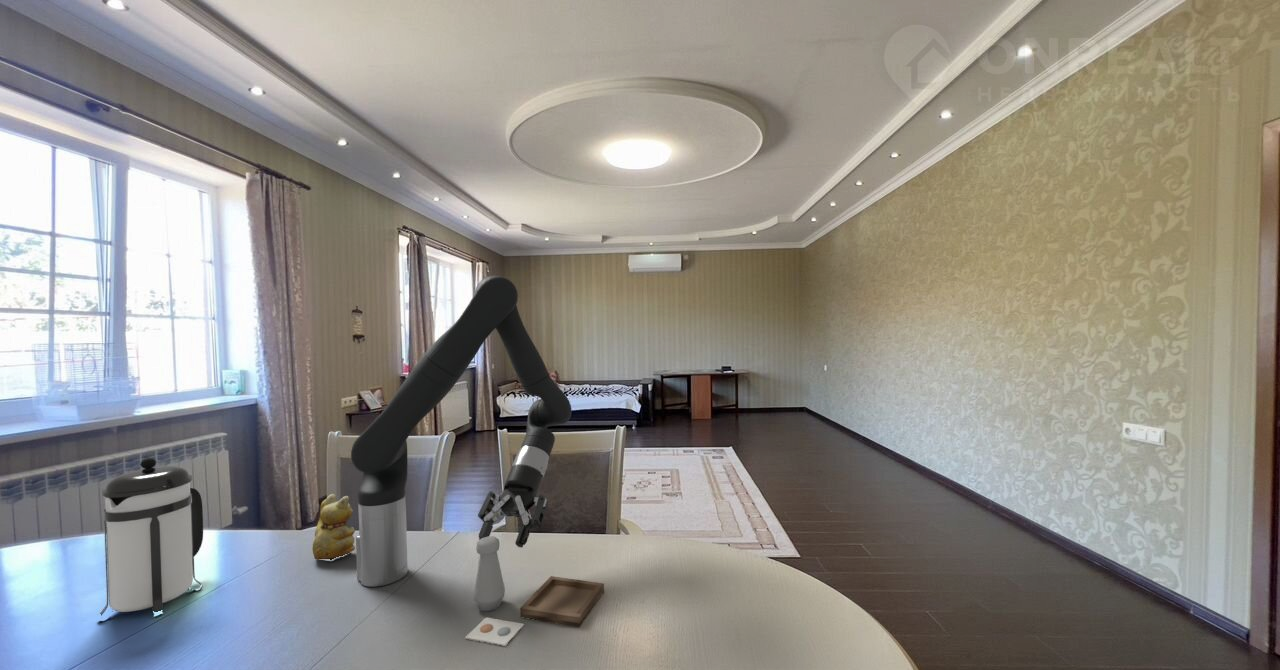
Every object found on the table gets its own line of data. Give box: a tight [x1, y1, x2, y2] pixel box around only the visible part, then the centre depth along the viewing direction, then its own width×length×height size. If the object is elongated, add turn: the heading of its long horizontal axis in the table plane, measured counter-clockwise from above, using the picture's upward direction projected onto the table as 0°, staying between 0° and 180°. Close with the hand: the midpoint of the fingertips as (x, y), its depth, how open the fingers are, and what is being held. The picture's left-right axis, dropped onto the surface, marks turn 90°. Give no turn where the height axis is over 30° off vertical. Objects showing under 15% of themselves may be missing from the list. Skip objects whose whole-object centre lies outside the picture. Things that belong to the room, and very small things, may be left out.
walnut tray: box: [519, 575, 605, 628], centre depth 93 cm, size 12×12×2 cm
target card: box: [464, 617, 525, 647], centre depth 85 cm, size 8×6×1 cm
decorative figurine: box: [312, 493, 356, 561], centre depth 116 cm, size 10×8×15 cm
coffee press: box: [99, 457, 204, 616], centre depth 99 cm, size 17×16×30 cm
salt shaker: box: [473, 535, 506, 612], centre depth 93 cm, size 6×6×13 cm
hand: (500, 543), depth 97 cm, fingers open, 8 cm apart
